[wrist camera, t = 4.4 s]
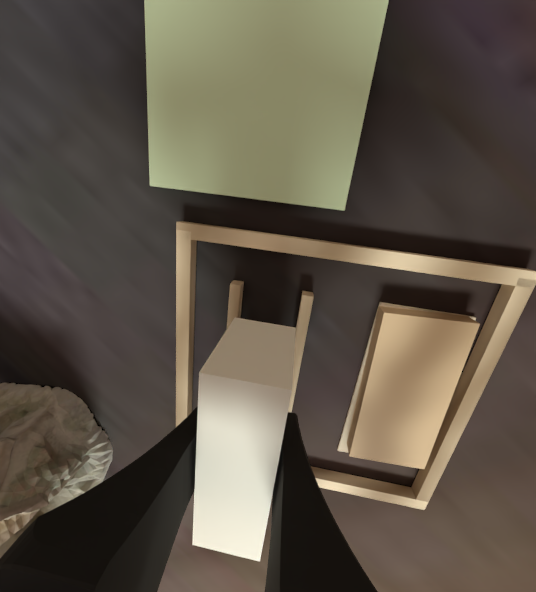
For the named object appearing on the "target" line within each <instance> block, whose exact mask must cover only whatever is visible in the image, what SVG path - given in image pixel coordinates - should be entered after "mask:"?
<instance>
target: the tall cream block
mask: <svg viewBox="0 0 536 592" xmlns="http://www.w3.org/2000/svg"><path fill="white" fill-rule="evenodd" d="M295 334H296V328H295V327H289V326H283V325H277V324H271V323H265V322H259V321H253V320H247V319H242V318H236V317H235V318H234V319H233V321H232V322H231V324H230V326H229V327H228V329H227V330H226V332H225V333H224V335H223V336H222V338H221V339H220V341H219V343H218V344H217V346H216V347H215V349H214V350H213V352H212V353H211V355H210V356H209V358H208V360H207V361H206V363H205V364H204V366H203V367H202V369H201V370H200V372H199V389H198V415H197V441H196V467H195V492H194V518H193V544H192V545H196V546H200V547H204V548H208V549H212V550H216V551H220V552H224V553H228V554H232V555H236V556H240V557H244V558H248V559H252V560H256V561H260V558H261V552H262V547H263V542H264V536H265V531H266V526H267V520H268V515H269V510H270V504H271V499H272V494H273V489H274V483H275V478H276V473H277V467H278V462H279V457H280V451H281V446H282V441H283V435H284V430H285V425H286V419H287V414H288V409H289V404H290V398H291V393H292V382H293V366H294V350H295Z"/></svg>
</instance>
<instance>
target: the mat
mask: <svg viewBox="0 0 536 592" xmlns="http://www.w3.org/2000/svg"><path fill="white" fill-rule="evenodd" d="M388 2H389V0H144V5H145V39H146V73H147V107H148V141H149V175H150V186H155V187H163V188H171V189H178V190H186V191H194V192H202V193H210V194H218V195H225V196H233V197H241V198H249V199H257V200H265V201H272V202H280V203H288V204H296V205H304V206H312V207H319V208H327V209H335V210H345V206H346V201H347V196H348V191H349V187H350V182H351V177H352V173H353V168H354V163H355V158H356V154H357V149H358V144H359V139H360V135H361V130H362V125H363V120H364V116H365V111H366V106H367V101H368V97H369V92H370V87H371V82H372V78H373V73H374V68H375V63H376V59H377V54H378V49H379V44H380V40H381V35H382V30H383V25H384V21H385V16H386V11H387V7H388Z"/></svg>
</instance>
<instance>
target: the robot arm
mask: <svg viewBox="0 0 536 592" xmlns="http://www.w3.org/2000/svg"><path fill="white" fill-rule="evenodd" d="M197 415H198V406H197V407H196V408H195V409H194V410H193V411H192V412H191V413H190V414H189V415H188V416H187V417H186V418H185V419H184V420H183V421H182V422H181V423H180V424H179V425H178V426H177V427H176V428H175V429H174V430H173V431H171V432H170V433H169V434H168V435H167V436H166V437H164V438H163V439H162V440H161V441H160V442H159V443H157V444H156V445H155V446H154V447H152V448H151V449H150V450H149V451H147V452H146V453H145V454H143V455H142V456H141V457H139V458H138V459H137V460H135V461H134V462H132V463H131V464H129V465H128V466H127V467H125V468H124V469H122V470H121V471H119V472H118V473H116V474H115V475H113V476H111V477H110V478H108V479H107V480H105V481H103V482H102V483H100V484H98V485H97V486H95V487H93V488H91V489H90V490H88V491H86V492H85V493H83V494H81V495H79V496H78V497H76V498H74V499H72V500H70V501H68V502H66V503H64V504H62V505H60V506H58V507H56V508H54V509H53V510H51V511H49V512H47V513H45V514H43V515H40V516H38V517H37V518H36V520H35V521H34V522H33V523H32V524H31V525H30V526H29V527H28V528H27V529H26V530H25V531H24V532H23V533H22V534H21V535H20V536H19V537H18V538H17V540H16V541H15V542H14V543H13V544H12V545H11V547H10V548H9V549H8V550H7V551H6V552H5V553H4V555H3V556H2V557H1V558H0V592H157V590H158V587H159V584H160V581H161V578H162V575H163V572H164V569H165V566H166V563H167V561H168V558H169V555H170V552H171V549H172V546H173V543H174V540H175V537H176V535H177V532H178V529H179V526H180V523H181V520H182V518H183V515H184V513H185V510H186V508H187V505H188V503H189V501H190V498H191V496H192V494H193V492H194V489H195V467H196V441H197ZM265 592H377V590H376V589H375V587H374V586H373V584H372V583H371V581H370V580H369V578H368V576H367V575H366V573H365V572H364V570H363V569H362V567H361V565H360V564H359V562H358V560H357V559H356V557H355V555H354V554H353V552H352V550H351V549H350V547H349V545H348V543H347V541H346V540H345V538H344V536H343V534H342V532H341V531H340V529H339V527H338V525H337V523H336V521H335V520H334V518H333V516H332V514H331V512H330V510H329V508H328V505H327V503H326V501H325V499H324V497H323V495H322V493H321V490H320V488H319V486H318V483H317V481H316V478H315V476H314V473H313V471H312V468H311V465H310V462H309V460H308V457H307V453H306V450H305V447H304V444H303V441H302V437H301V433H300V429H299V424H298V418H297V415H296V414H295V413H290V412H288V414H287V419H286V425H285V430H284V435H283V441H282V446H281V451H280V457H279V462H278V467H277V473H276V478H275V483H274V489H273V501H272V527H271V540H270V550H269V559H268V568H267V577H266V586H265Z"/></svg>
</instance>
